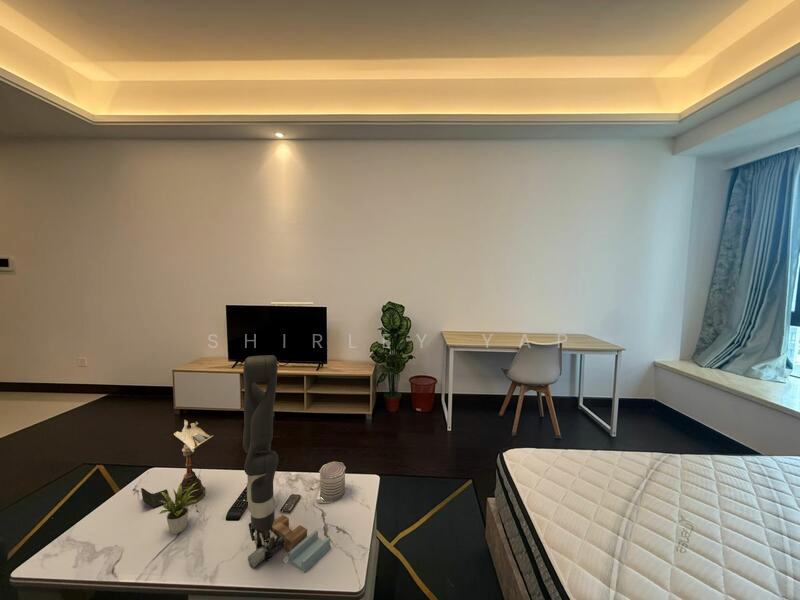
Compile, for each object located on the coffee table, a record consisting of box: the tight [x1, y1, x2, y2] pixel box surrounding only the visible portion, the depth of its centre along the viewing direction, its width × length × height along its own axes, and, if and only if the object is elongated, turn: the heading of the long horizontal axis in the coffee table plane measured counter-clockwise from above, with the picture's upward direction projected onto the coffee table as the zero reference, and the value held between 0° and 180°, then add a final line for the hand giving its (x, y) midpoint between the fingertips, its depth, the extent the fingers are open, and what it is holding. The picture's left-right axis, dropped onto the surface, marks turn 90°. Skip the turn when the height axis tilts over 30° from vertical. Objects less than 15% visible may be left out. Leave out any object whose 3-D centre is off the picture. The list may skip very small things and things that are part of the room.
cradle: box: [288, 529, 332, 573], centre depth 114 cm, size 8×12×4 cm, turn 147°
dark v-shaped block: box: [140, 487, 170, 510], centre depth 141 cm, size 12×7×10 cm
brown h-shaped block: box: [272, 514, 308, 553], centre depth 121 cm, size 14×7×6 cm, turn 57°
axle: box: [247, 533, 284, 569], centre depth 115 cm, size 14×4×4 cm, turn 148°
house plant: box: [158, 482, 197, 535], centre depth 125 cm, size 14×14×16 cm
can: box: [318, 461, 347, 503], centre depth 146 cm, size 11×11×12 cm
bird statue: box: [173, 419, 215, 507], centre depth 143 cm, size 17×13×35 cm
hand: (264, 556), depth 113 cm, fingers closed on axle, 4 cm apart
